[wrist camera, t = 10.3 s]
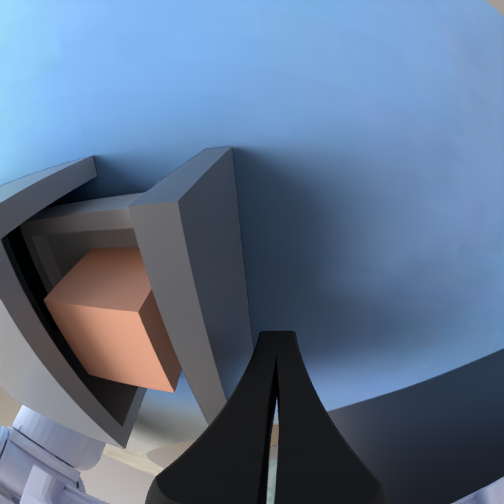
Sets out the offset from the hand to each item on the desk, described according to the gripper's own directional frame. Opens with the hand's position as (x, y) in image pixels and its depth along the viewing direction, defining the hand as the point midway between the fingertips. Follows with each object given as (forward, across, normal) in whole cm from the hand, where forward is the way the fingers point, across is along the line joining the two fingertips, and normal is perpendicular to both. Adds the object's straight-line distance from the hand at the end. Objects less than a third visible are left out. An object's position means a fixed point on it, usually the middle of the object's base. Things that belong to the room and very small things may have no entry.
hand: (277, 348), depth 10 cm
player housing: (+3, +13, -1) cm, 14 cm away
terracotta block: (+2, +6, -1) cm, 7 cm away
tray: (+3, +7, -1) cm, 8 cm away
